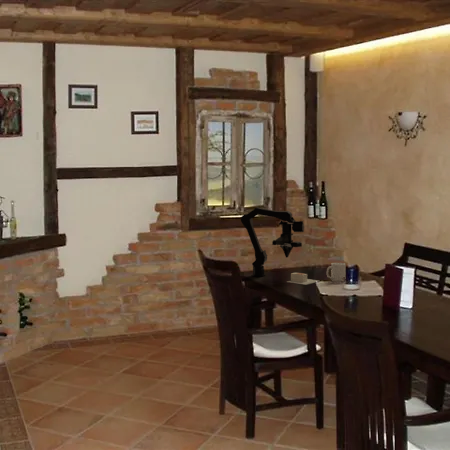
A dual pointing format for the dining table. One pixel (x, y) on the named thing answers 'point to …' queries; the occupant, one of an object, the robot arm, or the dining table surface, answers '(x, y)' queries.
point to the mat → (303, 282)
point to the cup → (337, 271)
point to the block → (299, 277)
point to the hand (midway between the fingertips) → (286, 257)
